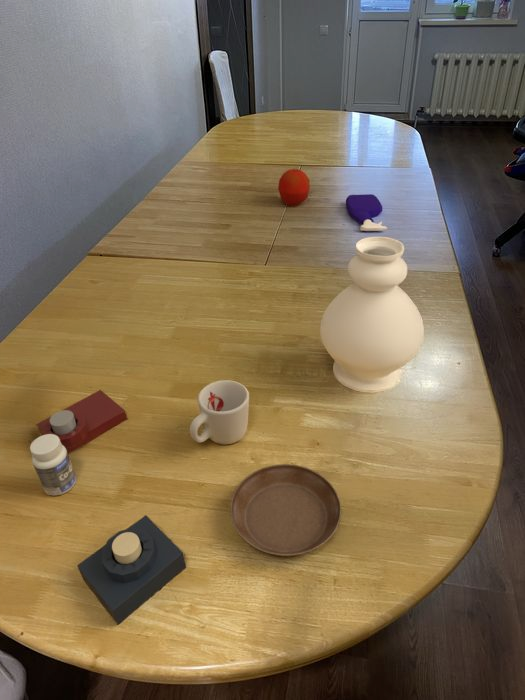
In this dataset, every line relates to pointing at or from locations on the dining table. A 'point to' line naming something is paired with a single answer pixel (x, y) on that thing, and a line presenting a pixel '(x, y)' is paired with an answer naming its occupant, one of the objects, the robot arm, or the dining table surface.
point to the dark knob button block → (132, 570)
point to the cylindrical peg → (126, 548)
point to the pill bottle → (52, 465)
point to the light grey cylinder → (63, 422)
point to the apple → (294, 187)
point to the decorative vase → (373, 320)
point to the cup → (222, 412)
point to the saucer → (285, 509)
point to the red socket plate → (88, 420)
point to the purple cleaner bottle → (365, 211)
